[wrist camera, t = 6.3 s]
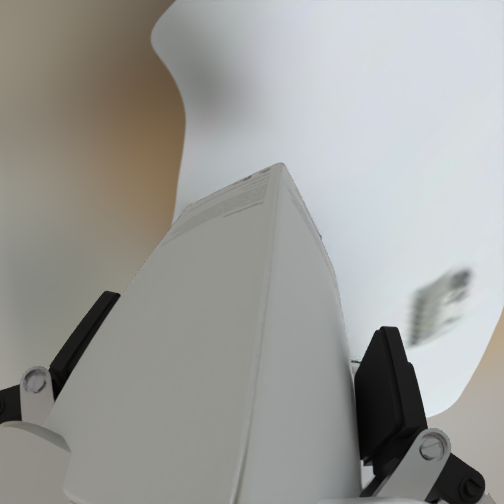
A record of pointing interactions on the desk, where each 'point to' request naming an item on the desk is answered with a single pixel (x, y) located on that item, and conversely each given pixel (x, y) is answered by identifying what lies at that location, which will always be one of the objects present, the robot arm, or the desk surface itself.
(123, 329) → the skincare box
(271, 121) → the desk surface
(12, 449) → the robot arm
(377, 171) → the desk surface
